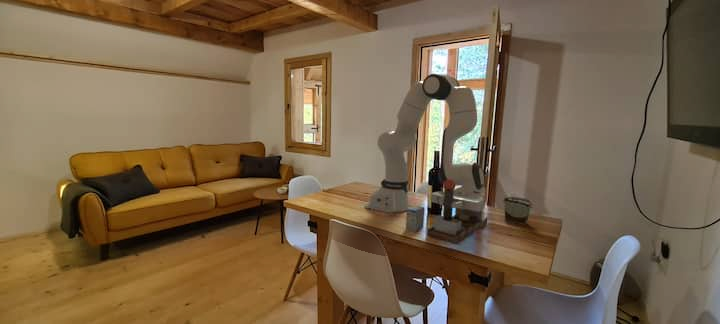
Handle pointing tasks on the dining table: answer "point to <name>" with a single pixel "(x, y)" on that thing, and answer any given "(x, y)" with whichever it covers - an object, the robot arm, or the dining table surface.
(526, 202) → the food container
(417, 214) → the medicine box
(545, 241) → the dining table surface
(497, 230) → the dining table surface
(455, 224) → the red knob lever
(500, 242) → the dining table surface
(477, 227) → the press base
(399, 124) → the robot arm
